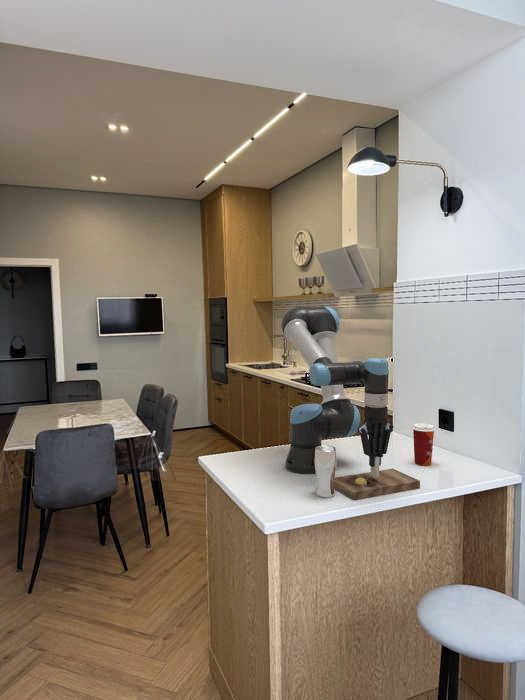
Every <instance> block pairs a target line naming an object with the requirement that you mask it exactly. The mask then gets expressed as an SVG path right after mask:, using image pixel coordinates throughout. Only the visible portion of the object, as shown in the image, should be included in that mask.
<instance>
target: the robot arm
mask: <svg viewBox="0 0 525 700" xmlns="http://www.w3.org/2000/svg"><path fill="white" fill-rule="evenodd" d="M280 326H281V327H280V328H281V331H282V334H283V336H284V337H285V339H286V340H288V341H291V343H292V344H293V345H294V347H295V348H296V349H297V351H298V352H299V354H300V355H301V357H302V358H303V360H304V361H305V363H306V364H307V365H308V367H309V370H308V376H309V380H310V382H311V384H312V385H313V386H316V387H317V386H319V387H320V388H321V395H322V401H321V403H320V404H319V403H303V404H299V405H297V406H294V407H293V408H292V409H291V410H290V419H289V423H290V425H289V428H290V429H289V430H290V431H289V432H290V435H289V436H290V437H289V438H290V439H289V440H290V441H289V442H290V443H289V444H290V445H289V450H288V452H287V455H286V459H285V469H286V468H287V469H286V470H288V471H289V470H290V471H289V472H292V473H297V474H309V475H310V474H316V472H315V463H314V459H315V447H317V446H322V442H323V441H322V440H324V439H334V438H335V439H336V438H346V437H351V436H354V435H356V433H357V432H359V435H360V440H361V446H362V449H363V454H364V455H365V456H368V465H369V466H370V472H371V475H372V476H374V477H379V471H380V466H381V464H382V458H383V457H384V455H386V454H387V451H388V448H389V442H390V437H391V433H392V431H393V429H394V425H393V424H390V423H389V422H388V420H387V418H388V415H389V414H388V413H389V412H388V411H389V408H388V406H387V405H389V403H388V402H389V396H388V395H389V378H390V377H389V376H390V374H389V373H390V371H389V370H390V369H389V360H388V359H386V358H382V357H381V358H379V357H370V358H369V357H368V358H366V359H365V361H361V360H352V361H349V362H346V361H345V362H339V359H338V356H337V351H336V345H335V342H334V340H335V338H337V337H336V336H337V334H338V332H339V329H340V319H339V315H338V313H337V311H336V310H335V309H334V308H332V307H331V306H323V305H321V306H295V307H292V308H290V309H288V311H286V312H285V313H284V315H283V317H282V319H281V324H280ZM357 384H358V385H364V399H363V400H364V402H363V403H364V406H363V407H364V410H363V411H364V412H363V415H364V422H363V425H362V426H361V427H360V424H361V414H360V411H359V408H358V407H357V405H354V404H352V402H351V399H350V398H349V397H347V396H346V393H345V388H344V385H357Z"/></svg>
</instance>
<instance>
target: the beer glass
mask: <svg viewBox="0 0 525 700" xmlns="http://www.w3.org/2000/svg"><path fill="white" fill-rule="evenodd" d="M314 463H315V472H316V473H315V477H316V489H315V495H316V496H317V497H320V498H325V499H327V498H332V497H334V496H335V494H336V492H335V489H334V478H336V477H335V475H336V470H337V449H336V447H335V446H333V445H325V444H324V445H323V444H322V445H321V446H317V447H315V459H314Z"/></svg>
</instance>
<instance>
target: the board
mask: <svg viewBox="0 0 525 700" xmlns="http://www.w3.org/2000/svg"><path fill="white" fill-rule="evenodd" d="M359 477H362V478H364V479H365V480H366V482H367V485H360V484H356V483H355V480H356V479H357V478H359ZM420 488H421V480H419V479H418V478H415V477H412V476H410V475H408V474H406V473H404V472H402V471H399V470H397V469H395V468H388V469H381V470H380V469H379V477H374V476H372V475H371V471H370V472H369V471H368V472H362V473H356V474H351V475H344V476H339V477H337V476H336V477H334V490H336V491H337V492H339V493H341V494H343V495H345V496H346V497H347V498H350V499H351V500H353V501H357V500H362V499H363V500H364V499H368V498H374V497H380V496H386V495H390V494H396V493H401V492H406V491H412V490H418V489H420Z"/></svg>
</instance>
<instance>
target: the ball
mask: <svg viewBox="0 0 525 700" xmlns="http://www.w3.org/2000/svg"><path fill="white" fill-rule="evenodd" d="M355 483H356V484H360V485H367V482H366V480H365V479H364V478H362V477H359V478H357V479H356V480H355Z"/></svg>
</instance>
